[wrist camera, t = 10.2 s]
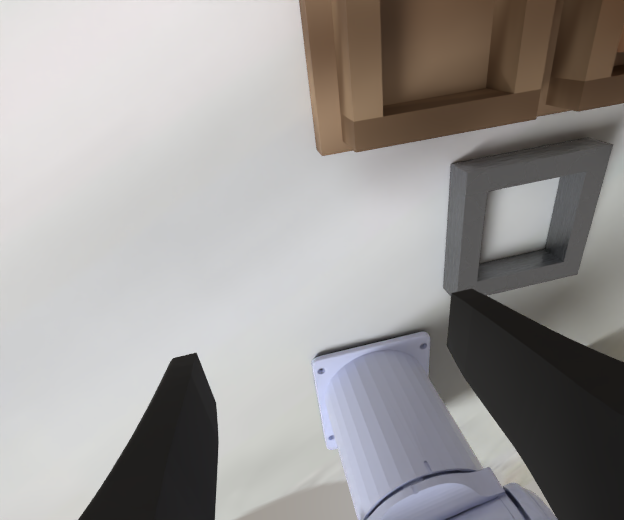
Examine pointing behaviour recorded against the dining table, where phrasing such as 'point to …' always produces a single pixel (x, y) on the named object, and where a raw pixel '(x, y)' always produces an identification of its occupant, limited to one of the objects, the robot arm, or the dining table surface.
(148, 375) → the dining table surface
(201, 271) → the dining table surface
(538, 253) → the socket
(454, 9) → the rack
